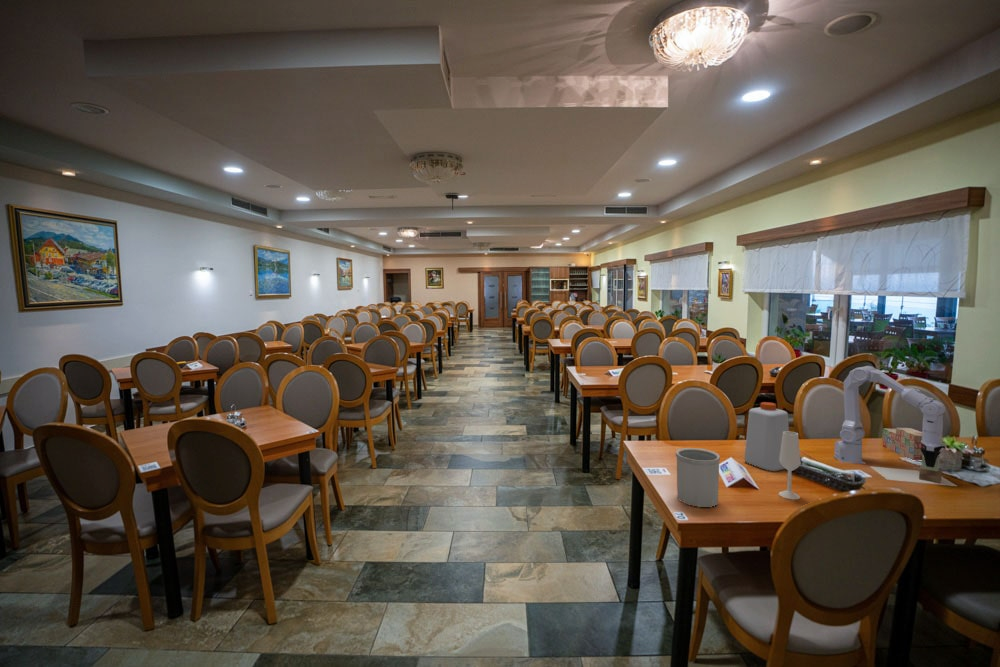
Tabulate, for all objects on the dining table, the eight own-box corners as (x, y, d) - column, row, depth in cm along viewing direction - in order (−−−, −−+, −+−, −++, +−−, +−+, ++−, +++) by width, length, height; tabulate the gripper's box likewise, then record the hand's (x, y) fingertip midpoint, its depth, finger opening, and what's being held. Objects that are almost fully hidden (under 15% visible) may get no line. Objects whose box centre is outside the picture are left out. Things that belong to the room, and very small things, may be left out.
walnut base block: (919, 479, 173) (919, 468, 173) (920, 475, 177) (921, 464, 177) (940, 483, 169) (940, 472, 168) (941, 479, 173) (941, 468, 172)
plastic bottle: (771, 473, 183) (772, 408, 181) (740, 461, 197) (741, 401, 195) (795, 467, 189) (796, 405, 187) (762, 457, 203) (764, 398, 201)
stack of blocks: (882, 446, 215) (883, 422, 214) (896, 447, 214) (897, 422, 213) (913, 461, 194) (914, 434, 193) (930, 462, 193) (931, 435, 192)
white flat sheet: (887, 480, 174) (887, 479, 173) (869, 467, 188) (869, 466, 188) (957, 487, 166) (957, 485, 166) (933, 473, 180) (933, 471, 180)
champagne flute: (804, 497, 160) (805, 434, 158) (790, 500, 158) (792, 436, 156) (787, 490, 166) (789, 429, 165) (774, 493, 164) (775, 431, 163)
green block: (921, 468, 173) (922, 456, 172) (922, 465, 176) (923, 453, 176) (938, 471, 169) (938, 459, 169) (938, 468, 172) (939, 456, 172)
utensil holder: (670, 490, 168) (670, 446, 167) (710, 491, 166) (710, 447, 165) (682, 508, 153) (683, 460, 152) (726, 509, 152) (727, 461, 151)
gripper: (945, 437, 164) (943, 471, 165) (947, 429, 173) (946, 462, 174) (919, 433, 169) (918, 466, 170) (923, 426, 179) (922, 458, 180)
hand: (930, 464), depth 172 cm, fingers open, 7 cm apart
